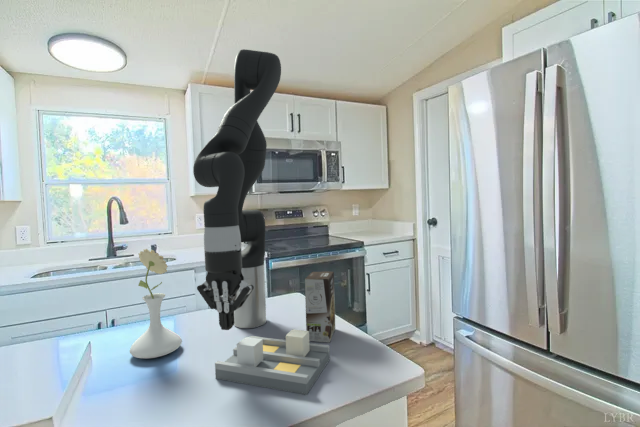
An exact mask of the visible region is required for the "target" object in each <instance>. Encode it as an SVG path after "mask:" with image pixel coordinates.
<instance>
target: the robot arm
mask: <svg viewBox="0 0 640 427" xmlns="http://www.w3.org/2000/svg"><path fill="white" fill-rule="evenodd" d="M233 71H234V72H233V74H234V76H233V79H234V80H233V82H234V85H233V86H234V89H233V92H234V94H233V96H234V100H233V102H234V104H232V105H231V106H230V107H229V108H228V110H227V111H226V112H225V113H224V115H223V117H222V118H221V119H222V120H221V121H220V124H219V126H218V128H217V131H216V133H215V134H214V135H213V136H212V138H210V140H209V141H208V142H207V143H206V144H205V146H204V147H203V148H202V149H201V150H200V151H199V153H198V154H197V156H196V158H195V161H194V162H193V168H192V170H193V171H192V172H193V177H194V179H195V181H196V182H197V184H199V185H200V186H202V187H204V188H205V187H206V188H218V189H217V192H216V195H215V196H213V197H212V198H208V199H207V200H206V201H204V203H203V223H204V225H203V226H204V228H203V229H204V231H203V232H204V233H203V249H204V252H203V253H204V266H205V267H204V268H205V271H206V272H207V273H206V275H205V276H206V277H205V281H204V282H203V283H201V284H199V285H197V286H196V290H197V291H198V293H199V294H200V295H201V297H202V299H203V300H204V301H205V303H206V304H207V305H208V307H209V309H211V310H216V311H217V312H218V313H217V314H218V324H219V326H220V329H221V330H222V331H229V330H231V329H232V328H233V327H234V326H235V327H237V328H240V329H253V328H257V327H261V326H263V325H265V324H266V323H267V304H266V301H267V299H266V278H265V256H266V220H265V217H264V214H263V213H262V211H261V210H258V209H244V204H245V200H246V198H247V195H248V194H249V191H251V189H252V187H253V186H254V185H255V184H256V182H257V180H258V179H259V178H260V176H261V174H262V173H263V171H264V168H265V165H266V159H267V158H266V157H267V156H266V155H267V146H268V144H267V139H266V137H265V134H264V132H263V130H262V128H261V125H260V123H259V121H258V119H259V118H260V116H261V115H262V114H263V112H264V110H265V108H266V107H267V105H268V104H269V102H270V100H271V99H272V97H273V96H274V94H275V93H276V90H277V88H278V87H279V85H280V82H281V75H282V64H281V60H280V58H279V56H278V55H277V54H275V53H273V52H268V51H260V50H254V49H253V50H252V49H240V50H238V52H237V54H236V56H235V60H234V69H233ZM251 90H252V91H251ZM242 243H247V245H246V247H245V248H244V249H243V250H242Z"/></svg>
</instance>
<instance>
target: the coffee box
mask: <svg viewBox="0 0 640 427" xmlns="http://www.w3.org/2000/svg"><path fill="white" fill-rule="evenodd" d="M304 286H305V287H304V291H305V292H304V295H305V331H309V342H318V343H319V342H320V343H330V342H331V340H332V338H333V336H334V333H335V331H336V305H335V304H336V303H335V302H336V300H335V297H336V296H335V272H334V271H312V272H311V273H309V274H308V275H307V276H306V277H305V278H304Z"/></svg>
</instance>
